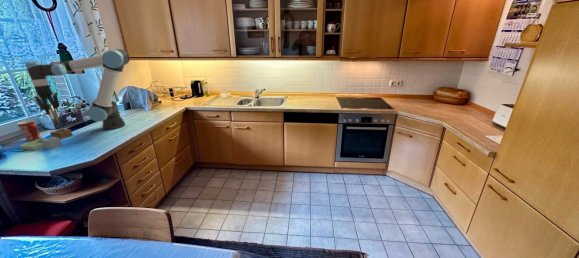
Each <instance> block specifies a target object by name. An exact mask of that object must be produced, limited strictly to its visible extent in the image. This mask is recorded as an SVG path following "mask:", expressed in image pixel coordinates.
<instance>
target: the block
mask: <svg viewBox="0 0 579 258" xmlns="http://www.w3.org/2000/svg"><path fill="white" fill-rule="evenodd" d="M44 139H45V140H42V142H43V144H44V146H45V147H44V149H47V150H54V149H58V148H60V147H63V144H62V141H61V140H60V139H59V138H58V137H52V136H51V137H48V138H44Z"/></svg>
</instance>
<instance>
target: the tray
mask: <svg viewBox="0 0 579 258" xmlns="http://www.w3.org/2000/svg"><path fill="white" fill-rule="evenodd" d="M45 139H46V138H42V137H41V138H40V139H37V140H34V141H27V142H26V143H22V144H21V145H19V148H20V150H22V151H29V150H30V151H32V152H36V151H40V150H42V149H45V146H44V144H43V142H42V140H45Z"/></svg>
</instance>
